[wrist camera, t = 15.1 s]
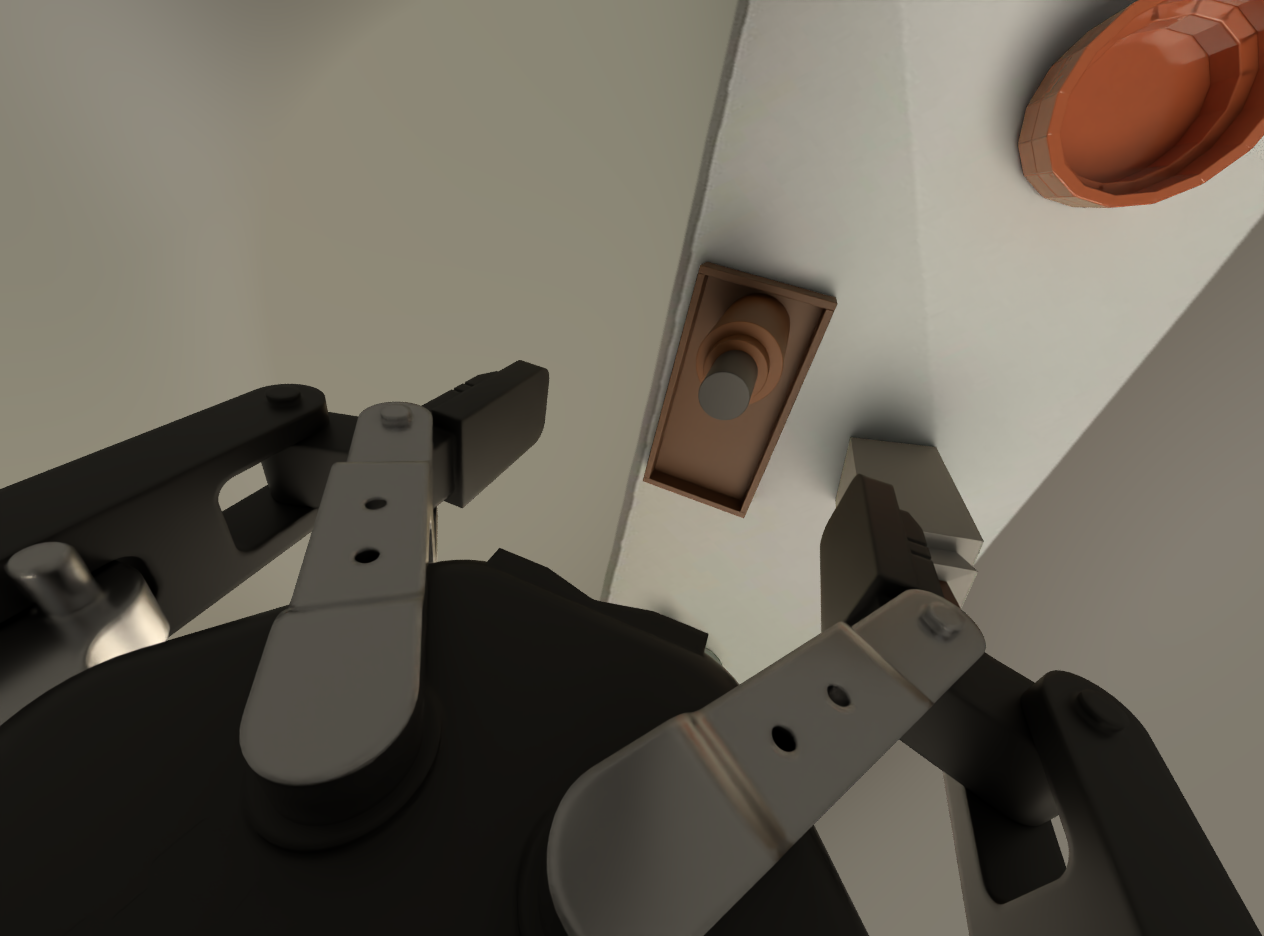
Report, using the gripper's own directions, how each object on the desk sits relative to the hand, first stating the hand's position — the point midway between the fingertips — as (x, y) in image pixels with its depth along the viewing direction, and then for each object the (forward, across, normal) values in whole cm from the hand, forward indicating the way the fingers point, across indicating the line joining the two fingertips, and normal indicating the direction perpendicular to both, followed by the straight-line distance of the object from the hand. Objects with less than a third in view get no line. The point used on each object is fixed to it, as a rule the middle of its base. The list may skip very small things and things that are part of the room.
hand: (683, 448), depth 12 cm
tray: (+31, 0, +11) cm, 33 cm away
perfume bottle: (+31, -15, +14) cm, 37 cm away
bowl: (+32, -16, -13) cm, 38 cm away
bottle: (+31, 0, +4) cm, 31 cm away
